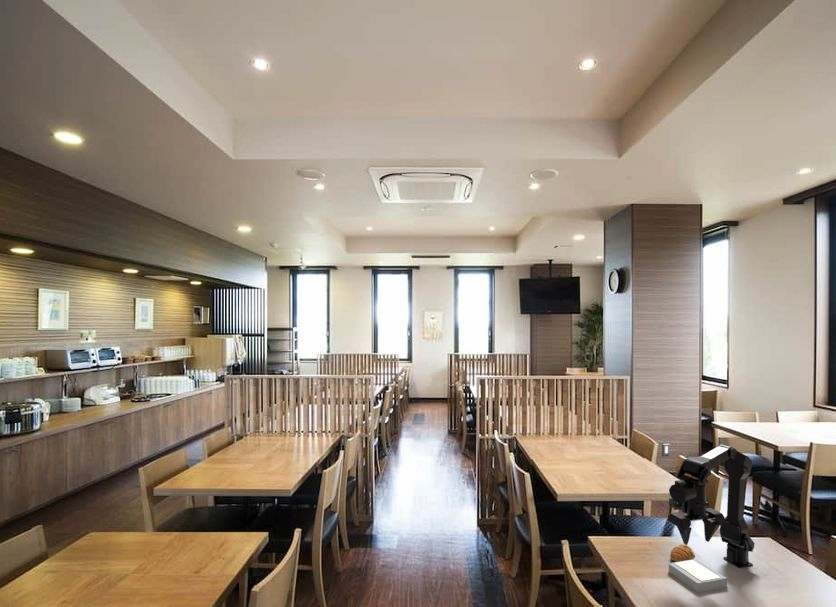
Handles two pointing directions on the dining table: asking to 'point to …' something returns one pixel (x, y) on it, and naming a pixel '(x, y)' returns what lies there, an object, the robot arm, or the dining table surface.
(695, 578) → the plinth
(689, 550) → the pastry
